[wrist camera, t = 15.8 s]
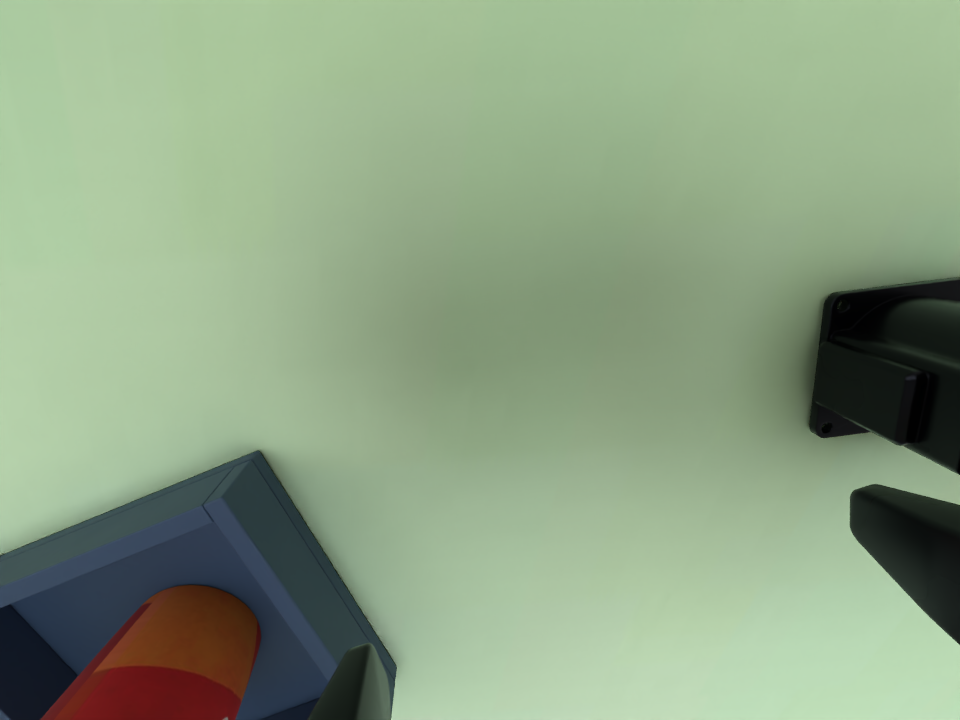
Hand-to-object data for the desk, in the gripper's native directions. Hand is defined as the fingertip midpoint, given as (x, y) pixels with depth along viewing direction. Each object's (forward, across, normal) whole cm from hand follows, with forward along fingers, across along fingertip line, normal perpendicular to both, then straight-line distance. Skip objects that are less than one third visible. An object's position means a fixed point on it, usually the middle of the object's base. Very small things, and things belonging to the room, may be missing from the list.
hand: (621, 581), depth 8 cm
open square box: (+13, +16, +8) cm, 23 cm away
